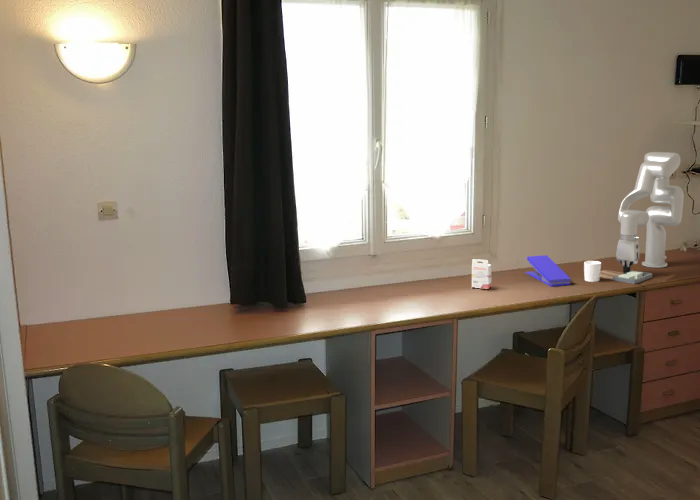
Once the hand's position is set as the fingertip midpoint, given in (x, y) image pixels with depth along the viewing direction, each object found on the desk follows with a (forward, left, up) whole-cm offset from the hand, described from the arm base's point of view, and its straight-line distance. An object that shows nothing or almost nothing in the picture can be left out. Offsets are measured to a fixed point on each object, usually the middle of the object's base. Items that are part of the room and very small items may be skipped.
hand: (626, 273), depth 359 cm
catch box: (+4, +5, -2) cm, 7 cm away
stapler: (+28, -27, -3) cm, 39 cm away
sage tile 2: (0, +4, -2) cm, 5 cm away
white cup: (+19, -8, -2) cm, 21 cm away
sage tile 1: (+8, +4, -2) cm, 10 cm away
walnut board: (+4, -7, -2) cm, 8 cm away
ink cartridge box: (+63, -41, -2) cm, 75 cm away
